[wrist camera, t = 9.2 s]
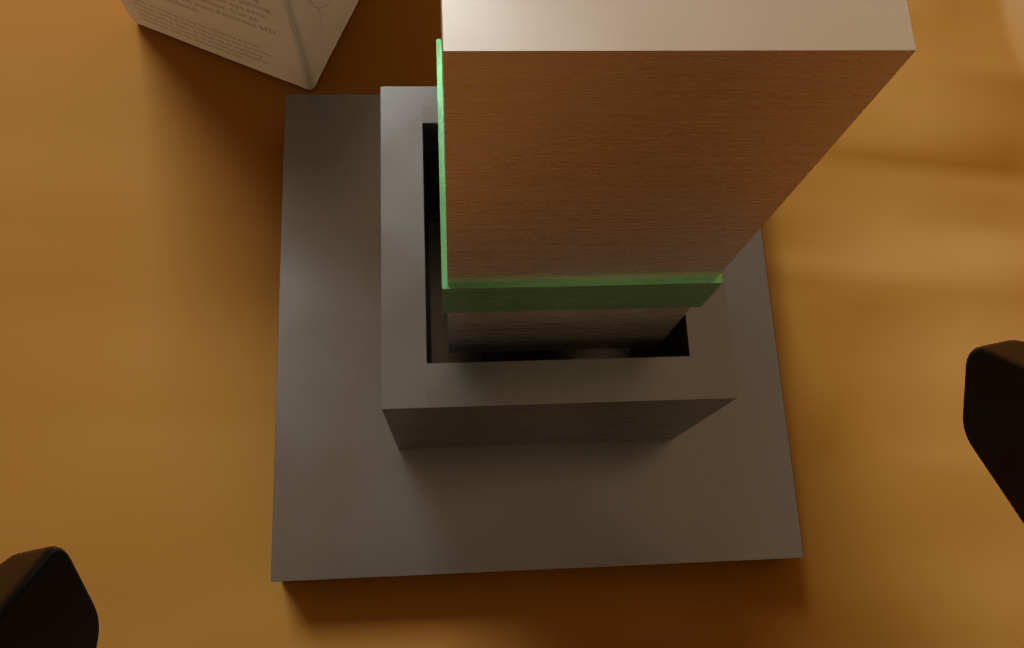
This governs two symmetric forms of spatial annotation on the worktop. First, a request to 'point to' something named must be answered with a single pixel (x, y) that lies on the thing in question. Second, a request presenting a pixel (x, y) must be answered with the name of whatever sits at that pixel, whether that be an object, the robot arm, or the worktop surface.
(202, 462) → the worktop surface
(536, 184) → the white tall block
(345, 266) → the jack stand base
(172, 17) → the small box
